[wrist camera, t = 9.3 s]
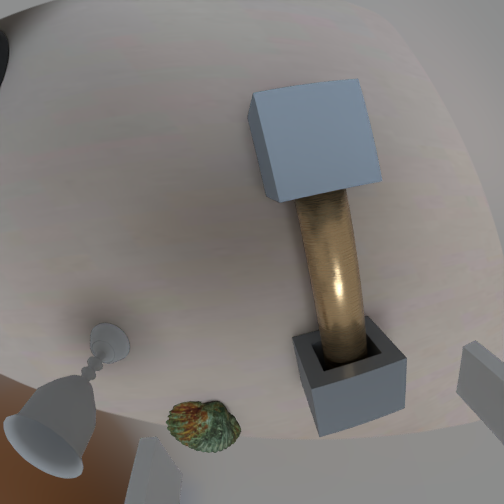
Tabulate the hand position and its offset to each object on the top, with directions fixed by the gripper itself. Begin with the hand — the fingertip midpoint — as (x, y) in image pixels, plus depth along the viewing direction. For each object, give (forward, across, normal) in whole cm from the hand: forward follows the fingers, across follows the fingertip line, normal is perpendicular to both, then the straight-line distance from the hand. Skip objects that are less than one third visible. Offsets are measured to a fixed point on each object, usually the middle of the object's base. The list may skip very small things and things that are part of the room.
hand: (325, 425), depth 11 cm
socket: (+22, +6, -12) cm, 25 cm away
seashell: (+22, -12, -19) cm, 32 cm away
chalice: (+22, -19, -4) cm, 30 cm away
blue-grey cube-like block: (+22, +6, +11) cm, 25 cm away
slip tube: (+19, +6, -3) cm, 20 cm away
